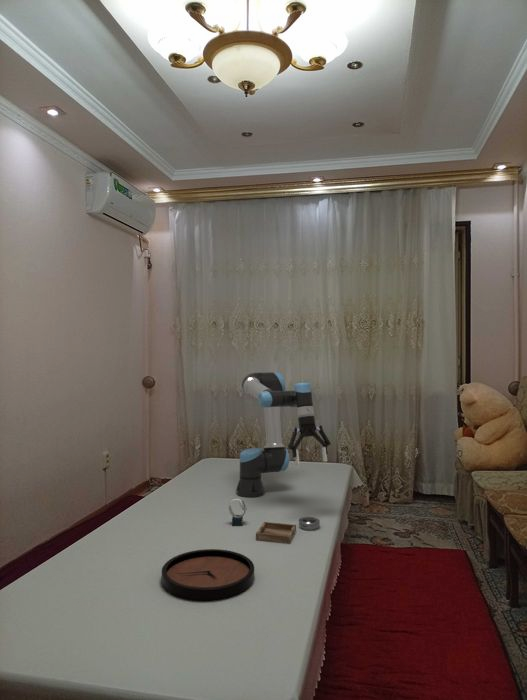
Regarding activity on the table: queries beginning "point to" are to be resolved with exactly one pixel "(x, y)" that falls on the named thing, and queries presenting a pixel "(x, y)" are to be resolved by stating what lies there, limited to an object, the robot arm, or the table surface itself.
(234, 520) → the watch
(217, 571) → the wall clock
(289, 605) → the table surface
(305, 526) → the round socket
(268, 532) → the rect wooden tray
